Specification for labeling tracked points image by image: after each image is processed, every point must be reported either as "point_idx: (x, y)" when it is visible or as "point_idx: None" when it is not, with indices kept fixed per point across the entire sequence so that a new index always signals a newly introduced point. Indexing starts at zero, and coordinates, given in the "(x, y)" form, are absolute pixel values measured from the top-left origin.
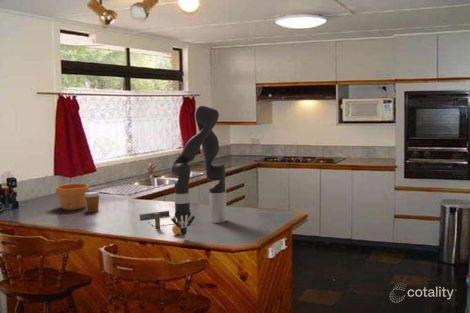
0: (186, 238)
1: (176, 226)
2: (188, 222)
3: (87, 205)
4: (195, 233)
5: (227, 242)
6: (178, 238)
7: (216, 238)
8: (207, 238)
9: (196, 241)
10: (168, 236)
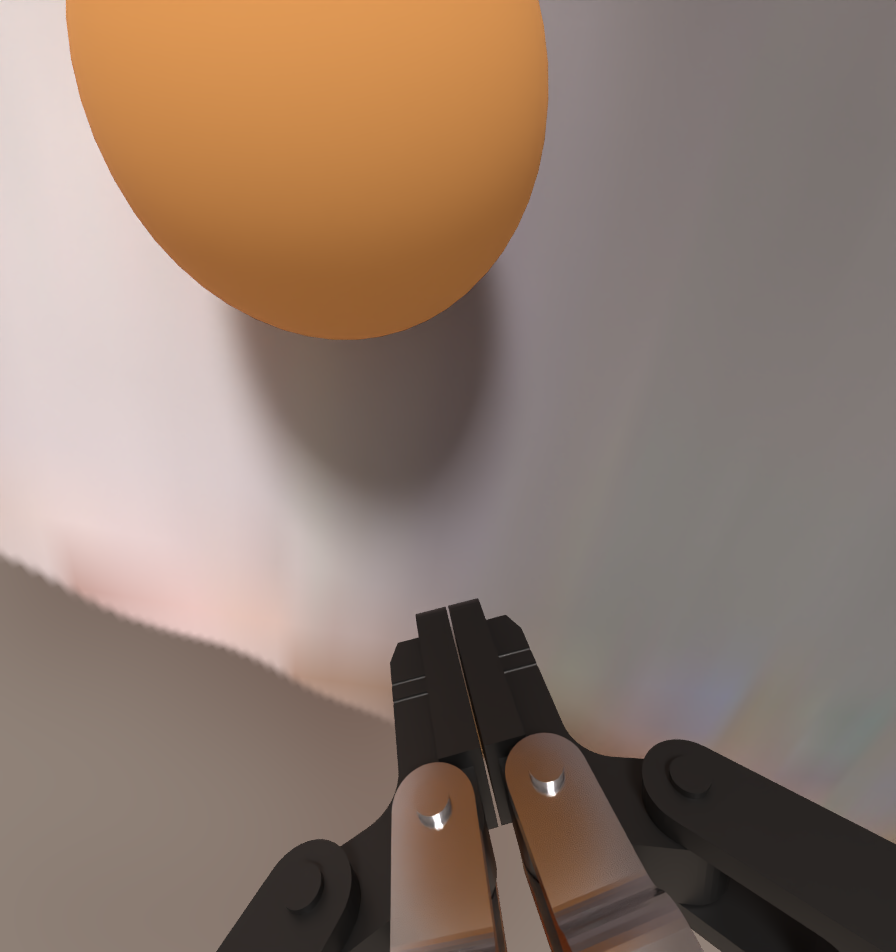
0: (488, 563)
1: (273, 273)
2: (767, 855)
3: None
4: (767, 240)
5: (861, 790)
6: (338, 528)
7: (867, 650)
8: (776, 629)
9: (588, 726)
10: (67, 283)
